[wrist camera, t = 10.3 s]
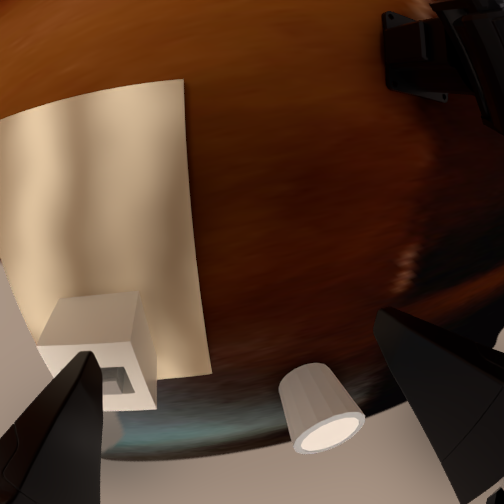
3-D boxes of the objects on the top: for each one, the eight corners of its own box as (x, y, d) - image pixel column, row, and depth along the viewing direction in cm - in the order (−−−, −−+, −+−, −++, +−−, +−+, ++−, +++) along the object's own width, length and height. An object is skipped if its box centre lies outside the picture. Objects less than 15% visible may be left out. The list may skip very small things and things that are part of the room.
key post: (125, 322, 19) (116, 381, 14) (129, 335, 20) (122, 394, 15) (87, 325, 19) (70, 381, 14) (92, 338, 19) (78, 394, 14)
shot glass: (304, 407, 30) (326, 456, 24) (258, 394, 28) (277, 452, 21) (348, 368, 29) (379, 416, 23) (305, 349, 26) (336, 407, 20)
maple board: (183, 82, 15) (183, 79, 14) (209, 361, 24) (212, 373, 23) (-13, 128, 13) (-25, 130, 11) (61, 370, 22) (57, 382, 20)
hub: (139, 290, 19) (130, 343, 14) (157, 357, 21) (156, 411, 17) (59, 298, 17) (34, 348, 13) (86, 361, 20) (74, 412, 15)
